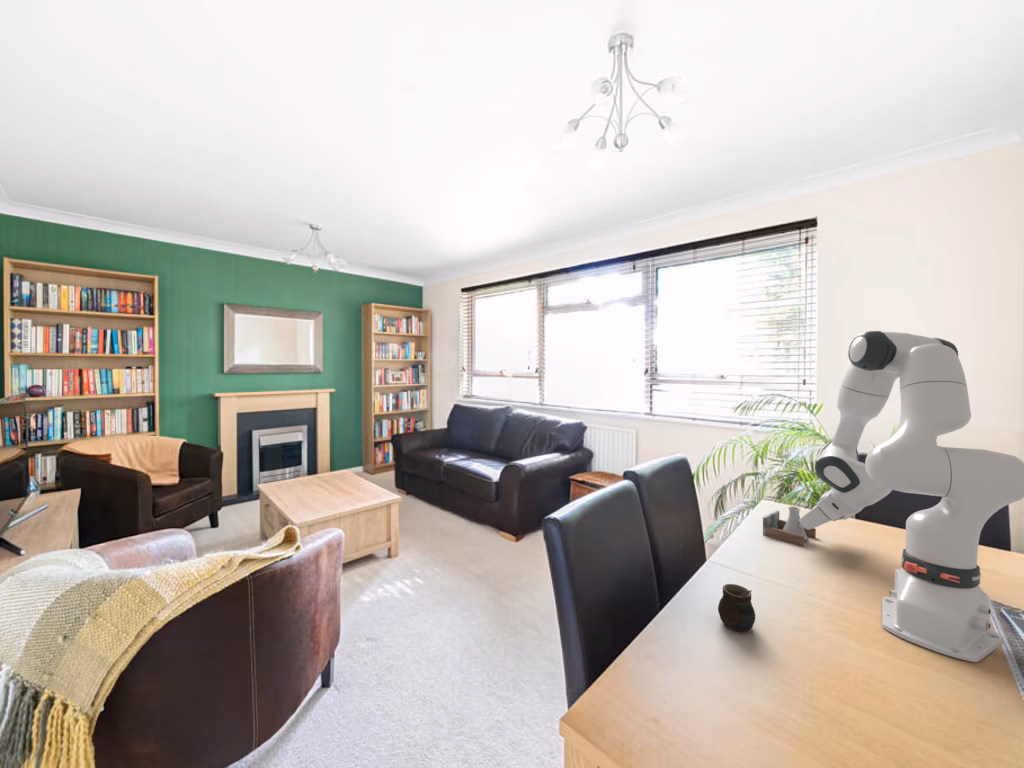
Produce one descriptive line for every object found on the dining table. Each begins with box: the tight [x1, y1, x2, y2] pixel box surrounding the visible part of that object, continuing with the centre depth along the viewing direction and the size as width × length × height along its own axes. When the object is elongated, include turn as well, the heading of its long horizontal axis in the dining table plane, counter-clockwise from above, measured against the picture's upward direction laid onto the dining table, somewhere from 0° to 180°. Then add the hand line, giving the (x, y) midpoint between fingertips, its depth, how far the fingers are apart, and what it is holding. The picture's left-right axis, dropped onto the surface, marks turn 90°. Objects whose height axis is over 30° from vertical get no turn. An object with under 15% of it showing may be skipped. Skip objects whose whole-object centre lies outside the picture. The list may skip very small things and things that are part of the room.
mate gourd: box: [717, 583, 756, 633], centre depth 89 cm, size 7×8×10 cm
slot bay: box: [762, 510, 817, 547], centre depth 139 cm, size 12×12×6 cm
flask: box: [782, 506, 808, 541], centre depth 138 cm, size 7×7×10 cm
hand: (801, 526), depth 136 cm, fingers closed, pressing on flask
